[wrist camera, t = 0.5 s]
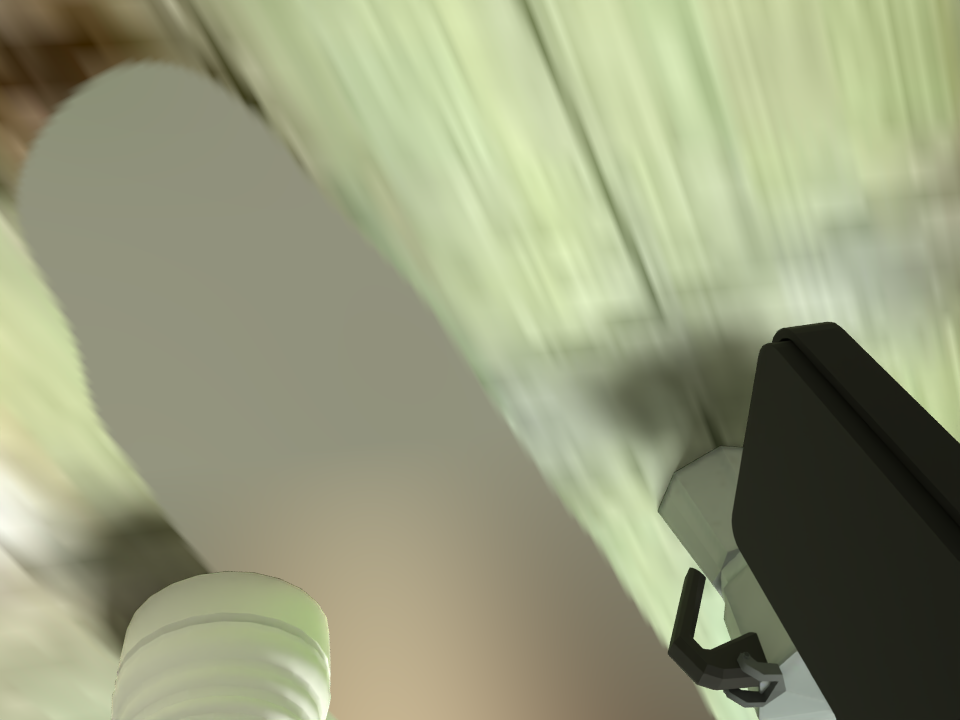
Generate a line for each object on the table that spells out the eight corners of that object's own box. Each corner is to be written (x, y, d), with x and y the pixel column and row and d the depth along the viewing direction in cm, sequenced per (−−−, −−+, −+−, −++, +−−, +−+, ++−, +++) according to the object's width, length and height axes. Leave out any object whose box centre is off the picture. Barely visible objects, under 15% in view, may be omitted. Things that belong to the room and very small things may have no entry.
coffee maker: (831, 448, 54) (1026, 686, 40) (778, 545, 59) (936, 791, 44) (622, 434, 51) (751, 691, 36) (582, 538, 55) (683, 805, 40)
